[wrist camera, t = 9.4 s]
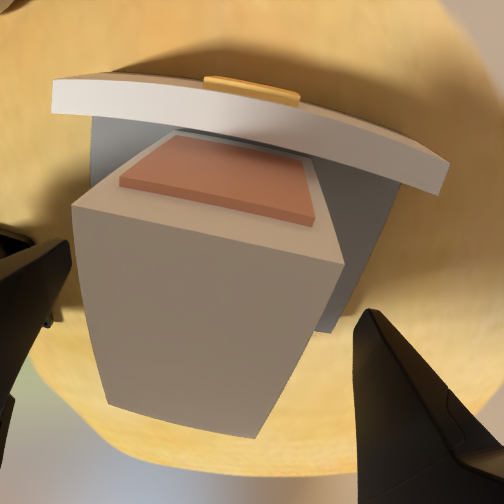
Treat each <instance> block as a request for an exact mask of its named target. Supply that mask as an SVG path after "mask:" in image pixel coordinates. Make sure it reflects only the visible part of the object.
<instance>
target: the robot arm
mask: <svg viewBox="0 0 504 504" xmlns="http://www.w3.org/2000/svg"><path fill="white" fill-rule="evenodd" d="M71 266H72V261H71V253H70V245H69V242H68V241H67V240H65V239H62V238H54V239H51V240H48V241H46V242H43V243H41V244H38V245H35V244H34V242H33V241H32V240H31V239H30V238H28V237H25V236H22V235H18V234H15V233H12V232H8V231H5V230H2V229H0V468H1V464H2V460H3V454H4V448H5V443H6V437H7V433H8V429H9V424H10V420H11V416H12V411H13V407H14V403H15V398H14V397H13V396H12V395H11V394H10V391H11V389H12V387H13V384H14V382H15V380H16V378H17V376H18V373H19V371H20V369H21V367H22V365H23V363H24V361H25V359H26V357H27V355H28V353H29V351H30V349H31V347H32V345H33V343H34V341H35V339H36V337H37V336H38V334H39V332H40V330H41V328H42V327H45V328H50V327H51V325H52V324H53V318H52V315H51V310H52V308H53V306H54V304H55V302H56V299H57V297H58V295H59V293H60V291H61V289H62V286H63V284H64V282H65V280H66V278H67V276H68V274H69V272H70V270H71ZM352 374H353V392H354V406H355V421H356V441H357V471H358V504H504V446H502V445H501V444H500V443H499V442H498V441H497V440H496V439H495V438H494V437H493V436H492V435H491V434H490V432H489V431H488V430H487V429H486V428H485V427H484V426H483V425H482V424H481V423H480V422H479V421H478V420H477V419H476V418H475V417H474V416H473V415H472V414H471V413H470V411H469V410H468V409H467V408H466V407H465V406H464V405H463V404H462V403H461V401H460V400H459V399H458V398H457V397H456V396H455V394H454V393H453V392H452V391H451V390H450V389H448V386H447V385H446V384H445V383H444V382H443V380H442V379H441V378H440V377H439V376H438V375H437V374H436V372H435V371H434V370H433V369H432V368H431V367H430V366H429V364H428V363H427V362H426V361H425V360H424V359H423V358H422V357H421V355H420V354H419V353H418V352H417V351H416V350H415V349H414V348H413V346H412V345H411V344H410V343H409V342H408V341H407V340H406V339H405V338H404V337H403V335H402V334H401V333H400V332H399V331H398V330H397V329H396V328H395V327H394V326H393V325H392V323H391V322H390V321H389V320H388V319H387V318H386V317H385V316H384V315H383V314H382V313H381V312H380V311H379V310H375V309H370V308H368V309H366V310H365V311H364V312H363V314H362V316H361V317H360V319H359V321H358V323H357V324H356V326H355V328H354V331H353V371H352Z"/></svg>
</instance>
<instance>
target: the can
mask: <svg viewBox="0 0 504 504" xmlns="http://www.w3.org/2000/svg"><path fill="white" fill-rule="evenodd" d="M13 1H14V0H0V13H2V12H3V11H4V10H5V9H6V8H8V7H9V6H10V5H11V3H12V2H13Z"/></svg>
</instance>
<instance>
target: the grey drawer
mask: <svg viewBox="0 0 504 504" xmlns="http://www.w3.org/2000/svg"><path fill="white" fill-rule="evenodd" d="M300 98H301V96H300V95H299V94H298V93H297V92H293V91H289V90H285V89H280V88H276V87H272V86H267V85H263V84H258V83H253V82H248V81H243V80H238V79H232V78H227V77H221V76H207V77H204V80H197V79H190V78H182V77H173V76H164V75H153V74H141V73H125V72H104V73H95V74H87V75H79V76H73V77H66V78H60V79H54V80H53V90H52V106H51V113H57V114H75V115H89V116H92V130H91V152H90V189H91V188H93V187H94V186H95V185H96V184H98V183H99V182H100V181H102V180H103V179H104V178H106V177H107V176H108V175H110V174H111V173H112V172H114V171H115V170H116V169H118V168H119V167H120V166H122V165H123V164H125V163H126V162H127V161H129V160H130V159H132V158H133V157H135V156H136V155H137V154H139V153H140V152H142V151H143V150H145V149H146V148H148V147H149V146H151V145H152V144H154V143H155V142H157V141H158V140H160V139H161V138H163V137H164V136H166V135H167V134H169V133H171V132H172V131H174V130H178V131H184V132H190V133H196V134H202V135H207V136H213V137H218V138H223V139H228V140H233V141H238V142H243V143H248V144H252V145H257V146H261V147H266V148H270V149H274V150H279V151H283V152H287V153H291V154H295V155H299V156H303V157H307V158H310V159H311V161H312V164H313V166H314V169H315V172H316V175H317V178H318V181H319V184H320V187H321V190H322V193H323V196H324V199H325V202H326V205H327V208H328V211H329V214H330V217H331V220H332V223H333V226H334V230H335V233H336V236H337V240H338V243H339V246H340V250H341V253H342V256H343V260H344V263H345V265H344V268H343V270H342V272H341V275H340V277H339V279H338V281H337V283H336V286H335V288H334V290H333V292H332V294H331V296H330V299H329V301H328V303H327V305H326V307H325V309H324V311H323V313H322V316H321V318H320V320H319V322H318V324H317V326H316V328H315V330H314V331H318V332H324V333H330V334H331V332H332V330H333V329H334V327H335V325H336V323H337V321H338V319H339V317H340V316H341V314H342V312H343V310H344V308H345V306H346V304H347V302H348V300H349V298H350V296H351V294H352V292H353V290H354V288H355V286H356V284H357V282H358V280H359V278H360V276H361V274H362V272H363V270H364V268H365V266H366V264H367V261H368V259H369V257H370V255H371V253H372V251H373V249H374V246H375V244H376V242H377V240H378V237H379V235H380V233H381V231H382V228H383V226H384V224H385V221H386V219H387V217H388V214H389V212H390V210H391V207H392V205H393V202H394V200H395V197H396V195H397V192H398V190H399V187H400V185H401V183H404V184H406V185H409V186H412V187H415V188H417V189H420V190H423V191H425V192H428V193H431V194H433V195H436V196H438V194H439V192H440V190H441V187H442V185H443V182H444V180H445V178H446V175H447V172H448V170H449V167H450V165H451V164H450V163H449V162H447V161H446V160H444V159H443V158H441V157H440V156H438V155H437V154H435V153H434V152H432V151H431V150H429V149H428V148H426V147H424V146H423V145H421V144H420V143H418V142H416V141H415V140H413V139H411V138H410V137H408V136H406V135H404V134H401V133H399V132H396V131H394V130H391V129H389V128H386V127H383V126H380V125H378V124H375V123H372V122H369V121H366V120H364V119H361V118H358V117H355V116H352V115H349V114H345V113H342V112H339V111H336V110H333V109H329V108H326V107H323V106H319V105H316V104H312V103H308V102H305V101H301V100H300Z"/></svg>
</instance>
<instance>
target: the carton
mask: <svg viewBox="0 0 504 504" xmlns="http://www.w3.org/2000/svg"><path fill="white" fill-rule="evenodd" d="M71 213H72V225H73V236H74V245H75V254H76V262H77V269H78V276H79V282H80V289H81V295H82V300H83V306H84V311H85V316H86V321H87V326H88V330H89V335H90V339H91V343H92V348H93V352H94V356H95V360H96V364H97V367H98V371H99V375H100V378H101V382H102V385H103V388H104V392H105V395H106V398H107V401H108V404H110V405H112V406H115V407H118V408H122V409H125V410H128V411H131V412H134V413H138V414H141V415H144V416H148V417H152V418H155V419H159V420H163V421H166V422H170V423H174V424H179V425H183V426H187V427H192V428H196V429H201V430H206V431H211V432H216V433H221V434H227V435H232V436H239V437H245V438H252V439H255V438H256V436H257V435H258V433H259V431H260V430H261V428H262V426H263V425H264V423H265V421H266V419H267V418H268V416H269V414H270V413H271V411H272V409H273V407H274V406H275V404H276V402H277V400H278V398H279V397H280V395H281V393H282V391H283V389H284V388H285V386H286V384H287V382H288V380H289V378H290V377H291V375H292V373H293V371H294V369H295V367H296V365H297V363H298V361H299V360H300V358H301V356H302V354H303V352H304V350H305V348H306V346H307V344H308V342H309V340H310V338H311V336H312V334H313V332H314V330H315V328H316V326H317V324H318V322H319V320H320V318H321V316H322V313H323V311H324V309H325V307H326V305H327V303H328V301H329V299H330V296H331V294H332V292H333V290H334V288H335V286H336V283H337V281H338V279H339V277H340V275H341V272H342V270H343V268H344V265H345V263H344V260H343V256H342V253H341V250H340V246H339V243H338V240H337V236H336V233H335V230H334V226H333V223H332V220H331V217H330V214H329V211H328V208H327V205H326V202H325V199H324V196H323V193H322V190H321V187H320V184H319V181H318V178H317V175H316V172H315V169H314V166H313V164H312V161H311V159H310V158H307V157H303V156H299V155H295V154H291V153H287V152H283V151H279V150H274V149H270V148H266V147H261V146H257V145H252V144H248V143H243V142H238V141H233V140H228V139H223V138H218V137H213V136H207V135H202V134H196V133H190V132H184V131H178V130H174V131H172V132H171V133H169V134H167V135H166V136H164V137H163V138H161V139H160V140H158V141H157V142H155V143H154V144H152V145H151V146H149V147H148V148H146V149H145V150H143V151H142V152H140V153H139V154H137V155H136V156H135V157H133V158H132V159H130V160H129V161H127V162H126V163H125V164H123V165H122V166H120V167H119V168H118V169H116V170H115V171H114V172H112V173H111V174H110V175H108V176H107V177H106V178H104V179H103V180H102V181H100V182H99V183H98V184H96V185H95V186H94V187H93V188H91V189H90V190H89V191H87V192H86V193H85V194H84V195H82V196H81V197H80V198H79V199H77V200H76V201H75V202H74V203H73V204H71Z"/></svg>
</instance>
